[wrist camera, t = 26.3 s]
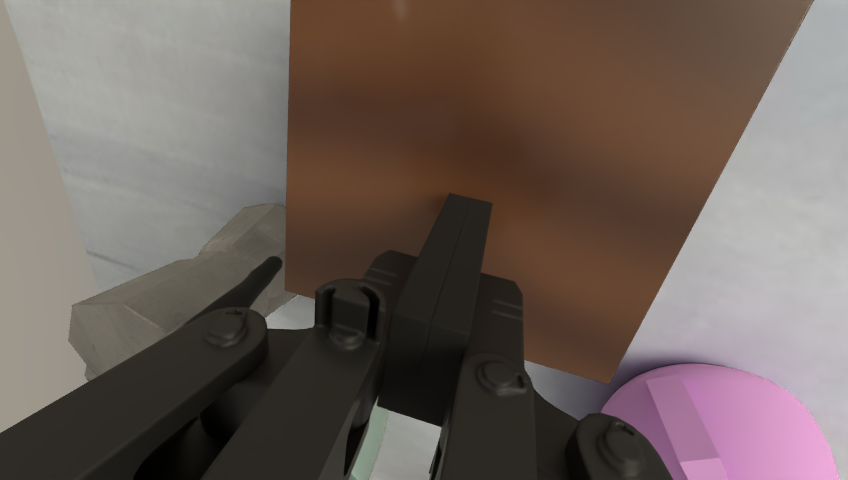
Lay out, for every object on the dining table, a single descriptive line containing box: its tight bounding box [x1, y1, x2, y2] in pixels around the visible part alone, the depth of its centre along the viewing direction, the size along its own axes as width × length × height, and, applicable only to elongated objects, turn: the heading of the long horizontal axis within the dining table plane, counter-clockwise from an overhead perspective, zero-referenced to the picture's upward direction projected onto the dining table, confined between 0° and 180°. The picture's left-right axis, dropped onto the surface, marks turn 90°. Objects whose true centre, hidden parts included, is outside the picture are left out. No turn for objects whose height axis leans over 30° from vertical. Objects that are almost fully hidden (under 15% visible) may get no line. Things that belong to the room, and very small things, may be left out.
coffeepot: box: [68, 204, 297, 381], centre depth 26 cm, size 15×9×18 cm, turn 124°
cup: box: [349, 397, 388, 480], centre depth 37 cm, size 8×8×10 cm
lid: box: [284, 0, 814, 384], centre depth 12 cm, size 15×14×1 cm
